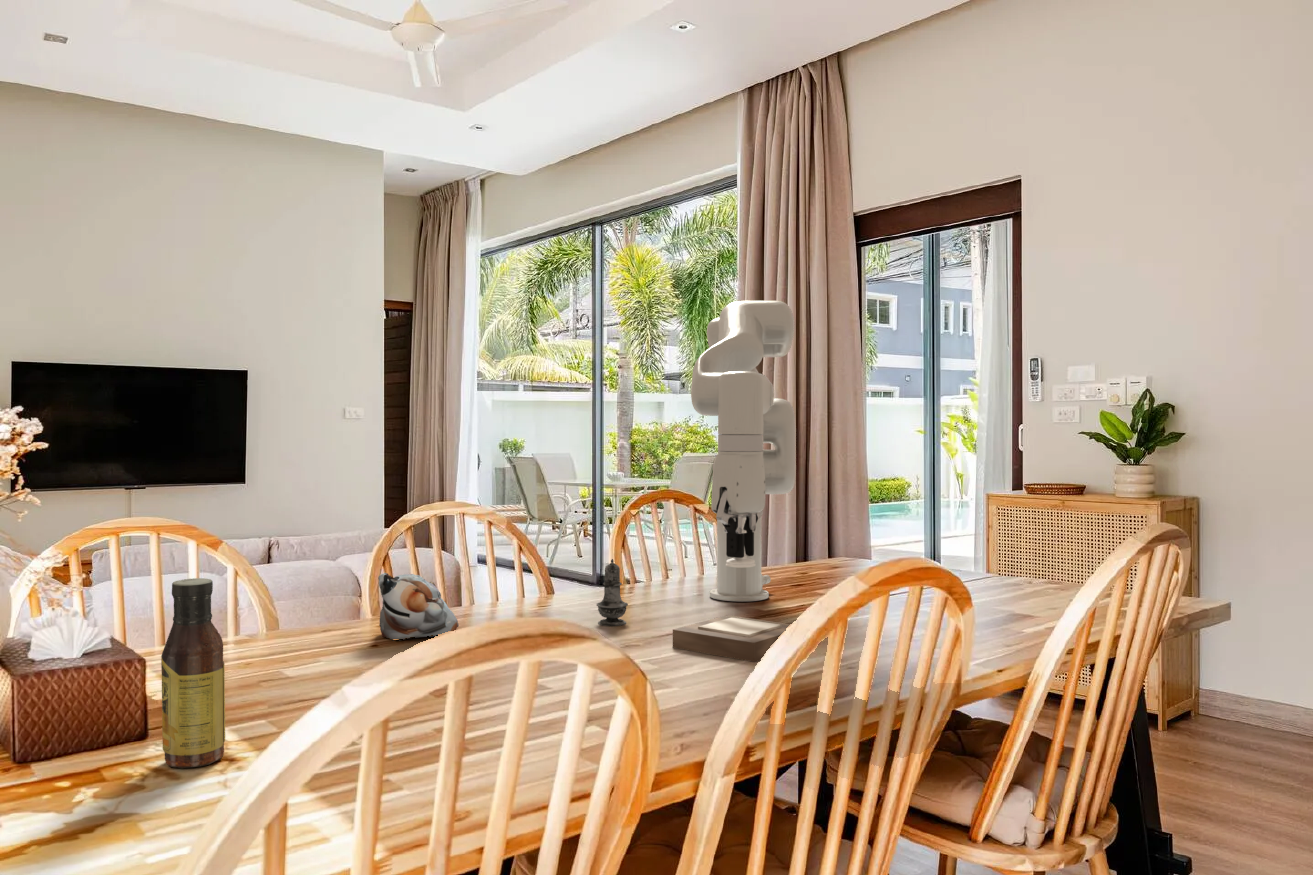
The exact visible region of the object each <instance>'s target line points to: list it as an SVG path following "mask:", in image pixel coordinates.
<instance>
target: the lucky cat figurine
mask: <svg viewBox="0 0 1313 875" xmlns="http://www.w3.org/2000/svg"><path fill="white" fill-rule="evenodd" d="M378 587H379V588H380V594H381V598H382V607H381V610H380V615H379V624H378V625H379V630H380V634H381V636H382V637H383V638H385V637H386V638H385V639H388V638H390V639H389V640H391V639H403V640H406V639H405V638H407V639H411V638H410V637H415V638H427V636H429V637H437V636H436V635H438V634H442V633H445V632H448V631H454V630H456V631H457V629H458V628H459V622H458V619H457V617H456V615H455V614H454V612H453V611H452V610H451V609H450V608H449V605H448V604H447V603H446V602H445V601H444V599H443V598H442V595H441V591H440V590H439V589H438V588H437V586H436V584H435V582H433V581H427V580H426V579H425V578H423V576H421V575H419V574H414V573H411V574H410V573H409V574H408V573H406V574H405V573H404V574H398V575H396V576H395V577H393V576H391V575H390V574H389V573H387V572H384V573H383V572H382V573H381V574H380V575H378ZM431 635H433V636H431Z"/></svg>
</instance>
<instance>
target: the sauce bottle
mask: <svg viewBox="0 0 1313 875" xmlns="http://www.w3.org/2000/svg"><path fill="white" fill-rule="evenodd" d="M213 586H214V584H213V580H212V579H211V578H205V577H204V578H202V577H199V578H197V577H196V578H195V577H194V578H186V579H180V580H179V579H178V580H175V581H173V582H172V583H171V596H172V598H173V617H172V622H173V623H172V626H171V628H170V631H169V634H168V636H167V639H166V642H165V645H164V647H163V650H162V653H161V656H160V658H161V663H160V664H161V726H162V727H161V729H162V730H161V731H162V750H163V752H164V761H165V763H166V764H167V766H168V767H170V768H180V769H186V768H187V769H188V768H190V769H191V768H199V767H200V768H201V767H205V766H208V765H211V764H212V763H215V762H217V761H219V760H221V759H222V757H223V756H224V754H225V741H226V695H225V694H226V687H225V686H226V685H225V684H226V683H225V682H226V681H225V679H226V678H225V677H226V676H225V669H226V668H225V661H224V642H223V637H222V636H221V634H220V633H219V631H218V629H217V628H216V627H215V624H214V623H213V622H212V619H213V614H212V594H213V592H214V590H213V589H214V587H213Z"/></svg>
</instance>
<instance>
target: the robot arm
mask: <svg viewBox="0 0 1313 875" xmlns="http://www.w3.org/2000/svg"><path fill="white" fill-rule="evenodd" d="M706 328H707V329H706V337H707V344H708V348H707V349H706V350H705V351H704V352H702V353H701V354H700V355H699V357H698V358H697V359H696V361H695V362H694V365H693V370H692V376H691V377H692V378H691V390H690V398H691V404H692V407H693V409H694V410H695V412H696V413H697V414H700V415H702V416H707V417H716V416H717V434H718V435H717V454H716V457H715V458H714V460H713V463H712V484H711V501H710V502H711V511H712V512H713V514H716V516H715V518H716V588H713V589H710V591H709V597H710V598H711V599H714V600H718V601H725V602H739V603H741V602H743V603H744V602H746V603H747V602H758V601H765V600H767V599H768V598H769V596H770V594H769V591H768V590H766V589H763V586H764V585H767V584H770V583H771V580H772V579H771V576H770V575H769V574H764V575H763V574H762V532H763V530H762V529H763V528H762V520H763V518H762V516H763V515H764V509H765V506H766V495H785V494H788V493H791V491H793V489H794V487H795V484H796V476H797V475H796V474H797V473H796V472H797V471H796V470H797V465H796V464H797V463H796V461H797V458H796V457H797V454H796V453H797V450H796V448H797V446H796V444H797V443H796V442H797V440H796V439H797V437H796V436H797V433H796V432H797V428H796V427H797V426H796V415H795V414H796V413H795V409H794V407H793V405H792V403H791V402H790V401H789V400H786V399H784V398H777V397H775V390H774V385H773V383H772V382H771V381H770V379H769V377H768V376H767V375H765V374H763V373H760V372H759V371H758V369H757V367H758V366H759V365H760V363H761V362H762V360H763V358H782V357H785V356H787V354H788V353H789V352H790V350H791V348H792V346H793V341H794V340H793V339H794V335H795V317H794V314H793V311H792V309H791V307H790V306H789V305H788V304H787V303H786V302H785V301H781V300H741V301H740V300H739V301H733V302H730V303H729V304H727V305H726V306H724V308H722V310H721V311H720V313H719V317H715V318H713V319H712V320H710V321H709V323H708V325H707V327H706ZM764 444H771V445H772V446H773V447H774V449H764ZM742 516H745V517H746V521H745V524H744V528H743V530H746V532H747V533H741V532H742ZM734 518H736V522H735V520H734ZM744 547H745V553H746V555H747V556H746V557H747V558H750V559H753V560H754V561H755V566H753V567H745V568H737V567H728V566H726V561H727V560H728V559H731V558H734V557H736V558H743V557H744Z"/></svg>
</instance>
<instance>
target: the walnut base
mask: <svg viewBox="0 0 1313 875" xmlns="http://www.w3.org/2000/svg"><path fill="white" fill-rule="evenodd" d="M790 624H791V623H784V622H779V621H776V622H775V621H770V620H762V619H757V618H750V617H744V616H743V617H741V616H736V615H729V614H728V615H727V614H726V615H722V616H719V617H714V618H711V619H707V620H703V621H700V622H696V623H693V624H688V625H685V626H681V627H678V628H677V627H676V628H674V629H672V649H678V650H679V649H680V650H684V651H690V652H695V653H701V654H706V655H712V656H717V657H718V656H719V657H722V658H723V657H725V658H729V659H735V660H741V661H746V662H752V663H755V662H759V661H761V660H760V659H761V658H762V657H763V656H764V654H765V653H766V651H767V650H768V649H769V648H770V646H771V645H772V644H773V643H774V642H775V641H776V640H777V639H778V637H779V636H780V635H781V634H782V633H783V632H784V631H786V628H787V627H788V626H789V625H790Z"/></svg>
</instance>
